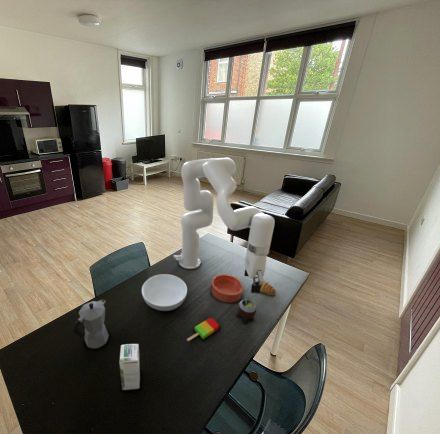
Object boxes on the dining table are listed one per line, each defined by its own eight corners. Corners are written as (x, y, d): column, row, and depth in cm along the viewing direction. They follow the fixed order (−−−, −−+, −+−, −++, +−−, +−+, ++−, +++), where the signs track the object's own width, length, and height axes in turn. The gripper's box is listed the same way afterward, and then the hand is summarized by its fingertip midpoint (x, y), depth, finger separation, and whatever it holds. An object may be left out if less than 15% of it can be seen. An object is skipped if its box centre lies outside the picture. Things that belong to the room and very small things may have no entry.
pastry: (277, 291, 117) (278, 285, 115) (271, 298, 113) (273, 292, 111) (258, 282, 123) (260, 276, 121) (252, 288, 119) (254, 282, 117)
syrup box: (123, 372, 82) (119, 344, 75) (140, 371, 82) (138, 342, 76) (122, 390, 77) (118, 361, 70) (140, 389, 77) (138, 360, 71)
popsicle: (220, 328, 98) (220, 325, 97) (191, 347, 90) (191, 344, 89) (210, 319, 102) (211, 316, 101) (182, 336, 94) (182, 333, 94)
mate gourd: (253, 326, 99) (260, 298, 92) (234, 321, 101) (238, 294, 95) (253, 312, 105) (259, 286, 99) (235, 308, 107) (239, 282, 101)
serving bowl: (137, 290, 118) (137, 279, 115) (177, 281, 124) (177, 270, 121) (148, 322, 100) (148, 310, 97) (194, 310, 106) (194, 299, 103)
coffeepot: (100, 321, 101) (95, 288, 93) (117, 331, 96) (113, 298, 89) (70, 350, 89) (61, 315, 82) (87, 363, 85) (80, 327, 77)
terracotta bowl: (213, 302, 111) (214, 294, 108) (209, 281, 124) (210, 273, 122) (245, 303, 110) (246, 295, 108) (237, 282, 123) (239, 274, 121)
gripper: (242, 235, 96) (237, 270, 103) (254, 260, 80) (247, 299, 87) (261, 235, 95) (254, 270, 102) (277, 260, 80) (268, 300, 87)
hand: (251, 283), depth 95 cm, fingers open, 9 cm apart
